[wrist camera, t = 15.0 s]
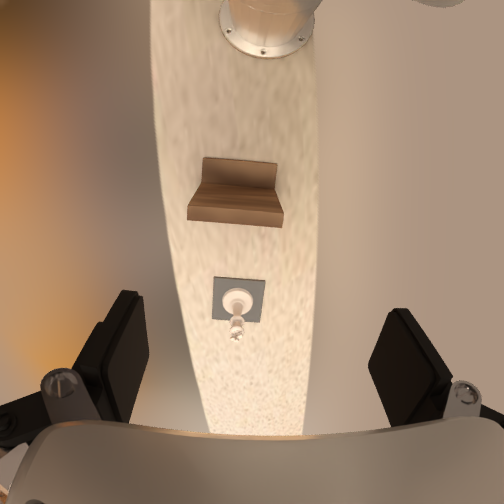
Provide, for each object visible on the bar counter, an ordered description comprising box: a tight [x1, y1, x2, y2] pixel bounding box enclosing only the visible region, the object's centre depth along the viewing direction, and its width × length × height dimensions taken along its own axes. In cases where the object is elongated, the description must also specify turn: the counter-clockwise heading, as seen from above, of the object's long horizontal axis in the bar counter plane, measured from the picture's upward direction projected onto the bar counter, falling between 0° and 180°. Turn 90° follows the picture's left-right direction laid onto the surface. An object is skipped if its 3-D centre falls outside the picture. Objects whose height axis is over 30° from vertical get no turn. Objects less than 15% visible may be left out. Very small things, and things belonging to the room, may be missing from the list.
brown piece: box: [187, 158, 284, 228], centre depth 37 cm, size 5×10×12 cm, turn 84°
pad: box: [212, 277, 265, 323], centre depth 51 cm, size 8×8×1 cm
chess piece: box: [222, 288, 253, 342], centre depth 46 cm, size 5×5×10 cm
